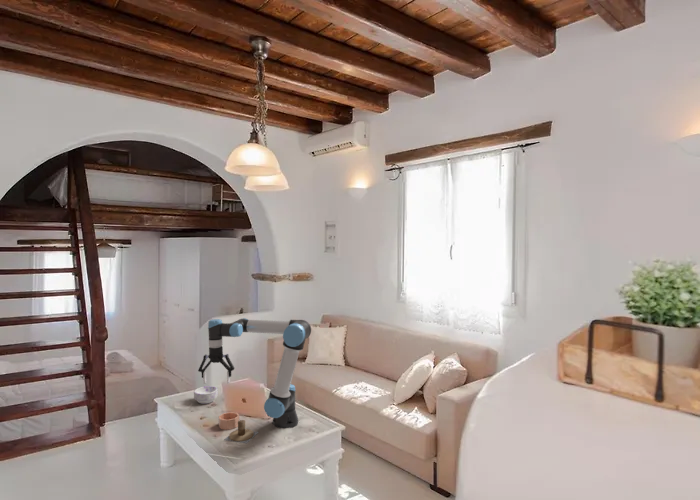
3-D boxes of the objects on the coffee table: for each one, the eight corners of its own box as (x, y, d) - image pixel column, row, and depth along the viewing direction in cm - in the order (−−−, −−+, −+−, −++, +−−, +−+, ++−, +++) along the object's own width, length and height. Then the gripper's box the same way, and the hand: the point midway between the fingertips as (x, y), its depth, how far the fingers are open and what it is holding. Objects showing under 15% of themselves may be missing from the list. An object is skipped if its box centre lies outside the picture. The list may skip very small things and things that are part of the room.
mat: (259, 433, 243) (259, 432, 243) (246, 444, 229) (246, 443, 229) (237, 430, 247) (237, 428, 247) (223, 441, 233) (223, 439, 233)
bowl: (242, 423, 255) (242, 413, 255) (232, 431, 245) (232, 421, 245) (225, 421, 258) (225, 411, 258) (215, 429, 248) (215, 418, 248)
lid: (257, 432, 243) (257, 418, 242) (246, 442, 230) (246, 428, 230) (237, 429, 246) (237, 415, 246) (224, 439, 234) (224, 425, 233)
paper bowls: (190, 405, 283) (190, 393, 283) (199, 397, 298) (199, 385, 298) (213, 405, 282) (213, 393, 282) (220, 397, 297) (220, 386, 297)
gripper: (238, 344, 253) (239, 380, 253) (196, 345, 252) (197, 381, 253) (235, 347, 245) (236, 384, 246) (191, 348, 245) (192, 385, 245)
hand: (216, 382), depth 249 cm, fingers open, 13 cm apart
